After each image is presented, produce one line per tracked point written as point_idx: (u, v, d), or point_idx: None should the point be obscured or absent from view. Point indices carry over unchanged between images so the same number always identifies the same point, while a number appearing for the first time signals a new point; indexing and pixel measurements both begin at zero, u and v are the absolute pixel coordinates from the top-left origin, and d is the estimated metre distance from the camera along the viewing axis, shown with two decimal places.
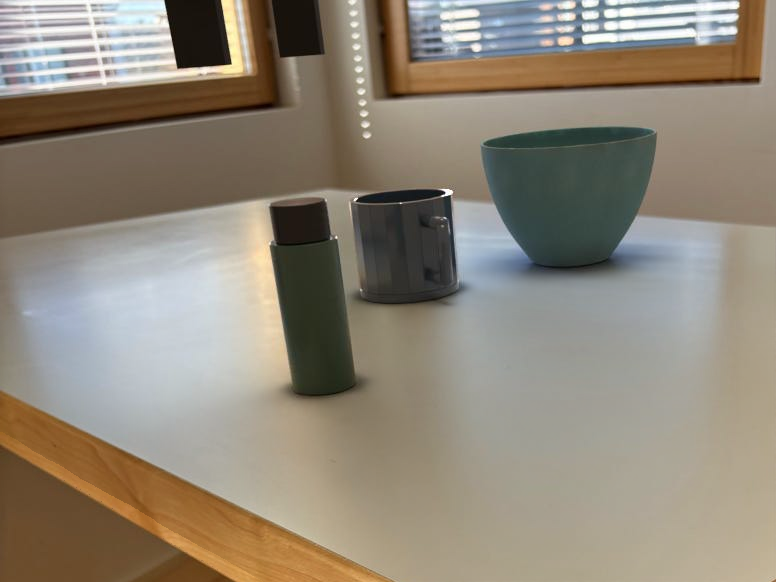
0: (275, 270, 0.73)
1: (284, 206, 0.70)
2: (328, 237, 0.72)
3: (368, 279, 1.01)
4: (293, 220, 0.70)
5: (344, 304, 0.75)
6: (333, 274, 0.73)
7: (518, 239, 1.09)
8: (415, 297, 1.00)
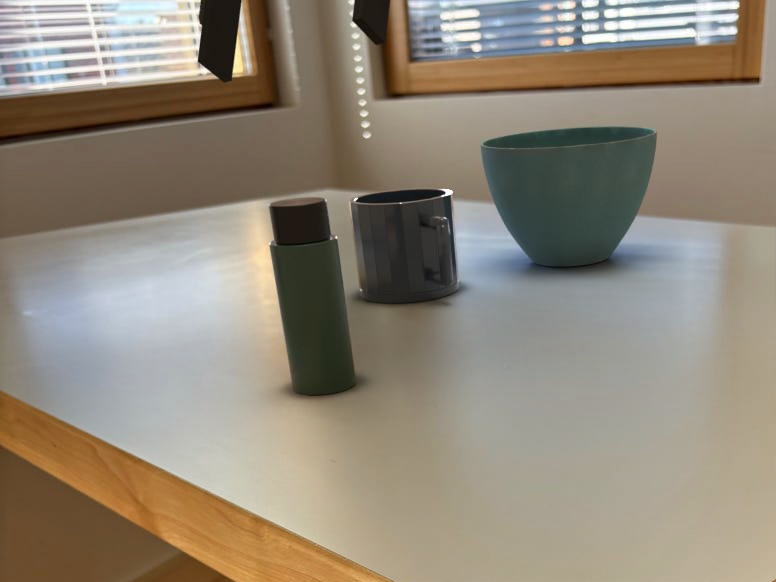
0: (275, 270, 0.73)
1: (284, 206, 0.70)
2: (328, 237, 0.72)
3: (368, 279, 1.01)
4: (293, 220, 0.70)
5: (344, 304, 0.75)
6: (333, 274, 0.73)
7: (518, 239, 1.09)
8: (415, 297, 1.00)
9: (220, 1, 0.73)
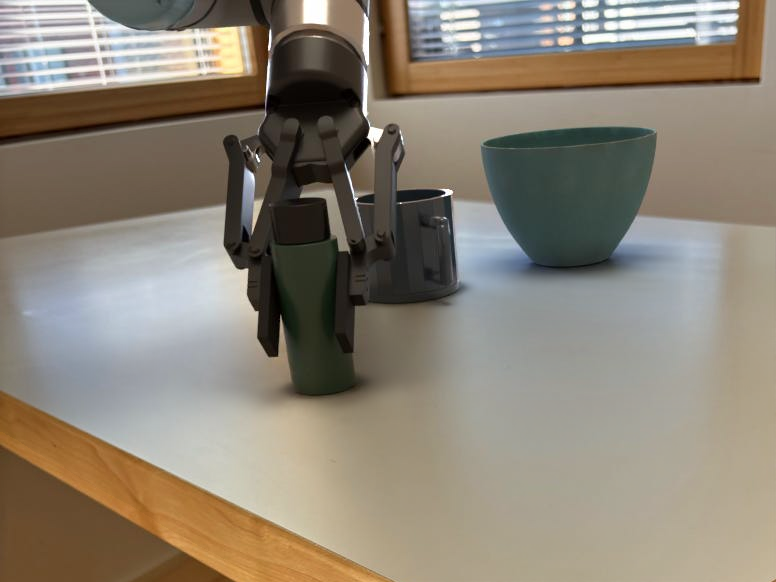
0: (275, 270, 0.73)
1: (284, 206, 0.70)
2: (328, 237, 0.72)
3: None
4: (293, 220, 0.70)
5: None
6: (333, 274, 0.73)
7: (518, 239, 1.09)
8: (415, 297, 1.00)
9: (273, 284, 0.74)
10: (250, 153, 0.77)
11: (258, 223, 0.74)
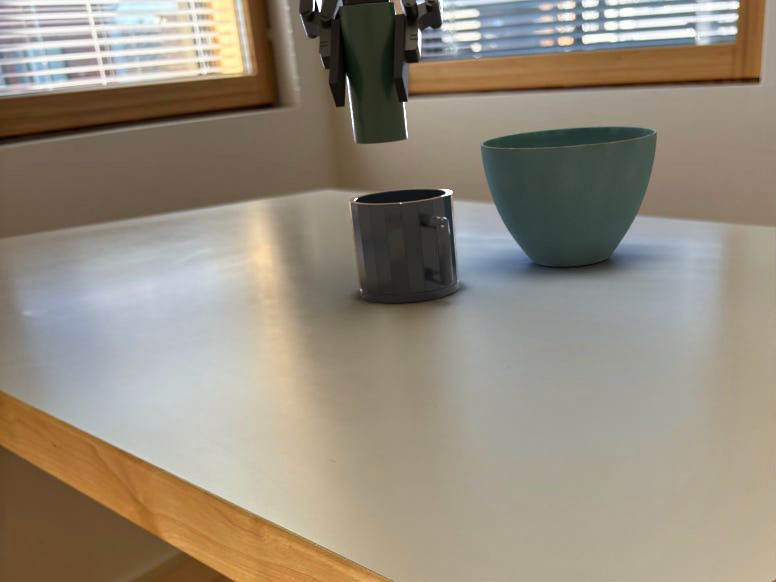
0: (343, 29, 0.87)
1: None
2: (388, 0, 0.87)
3: (368, 279, 1.01)
4: None
5: None
6: (392, 33, 0.87)
7: (518, 239, 1.09)
8: (415, 297, 1.00)
9: (341, 43, 0.88)
10: None
11: None
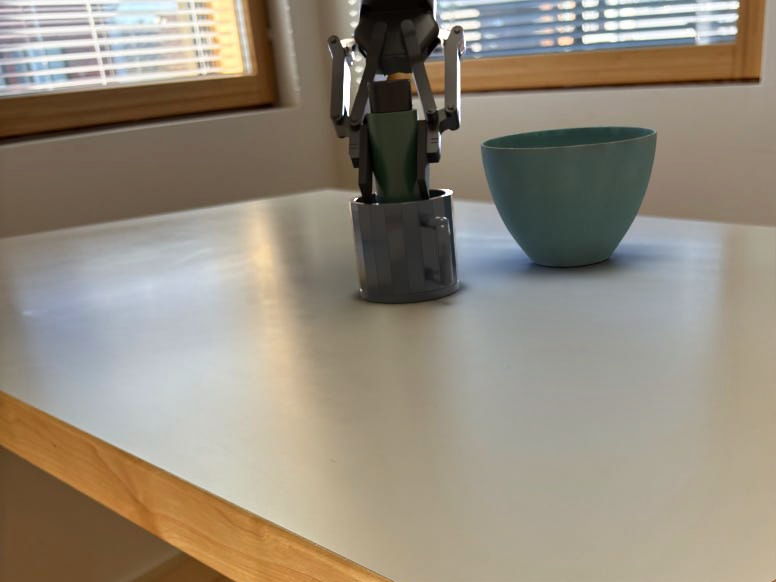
0: (371, 134, 0.96)
1: (380, 82, 0.93)
2: (411, 108, 0.96)
3: (368, 279, 1.01)
4: (387, 93, 0.94)
5: None
6: (415, 137, 0.96)
7: (518, 239, 1.09)
8: (415, 297, 1.00)
9: (368, 145, 0.97)
10: (348, 49, 1.00)
11: (356, 100, 0.98)
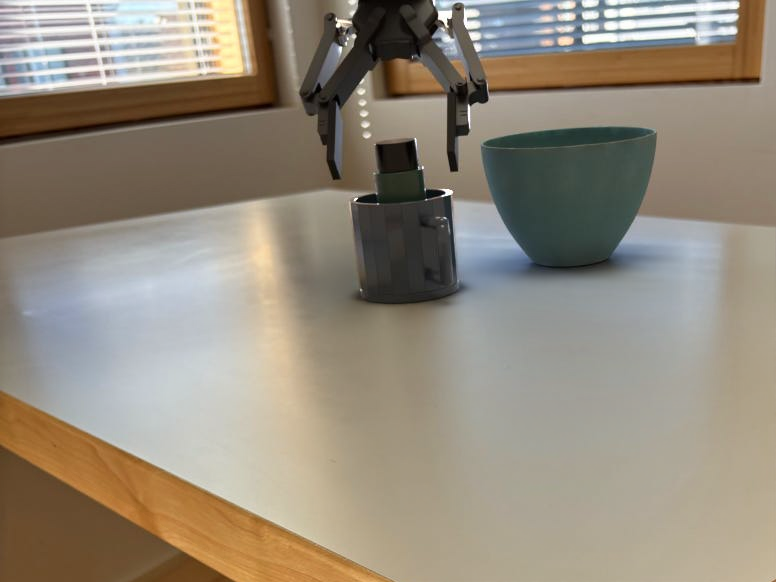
0: (378, 192, 0.99)
1: (387, 144, 0.96)
2: (417, 167, 0.98)
3: (368, 279, 1.01)
4: (393, 154, 0.96)
5: None
6: (421, 194, 0.99)
7: (518, 239, 1.09)
8: (415, 297, 1.00)
9: (337, 122, 0.97)
10: (342, 30, 0.99)
11: (332, 78, 0.98)
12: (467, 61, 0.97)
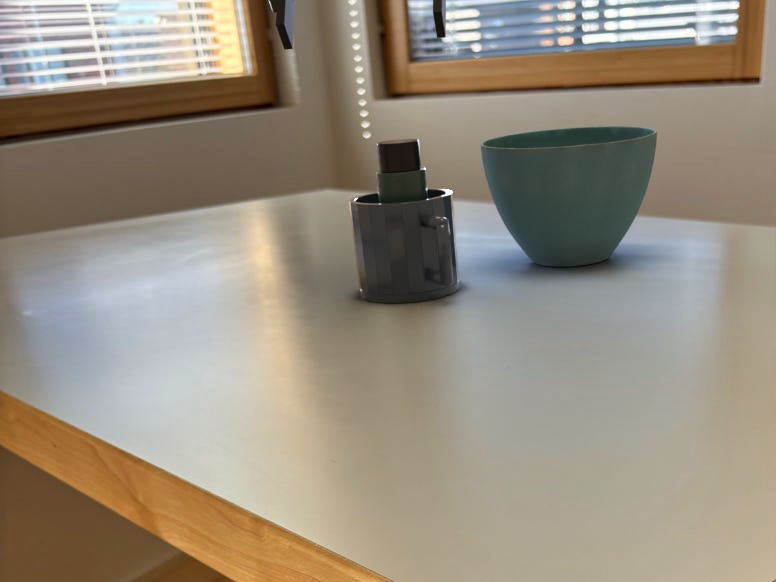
0: (380, 192, 0.99)
1: (389, 143, 0.96)
2: (419, 167, 0.98)
3: (368, 279, 1.01)
4: (396, 154, 0.96)
5: None
6: (423, 195, 0.99)
7: (518, 239, 1.09)
8: (415, 297, 1.00)
9: None
10: None
11: None
12: None
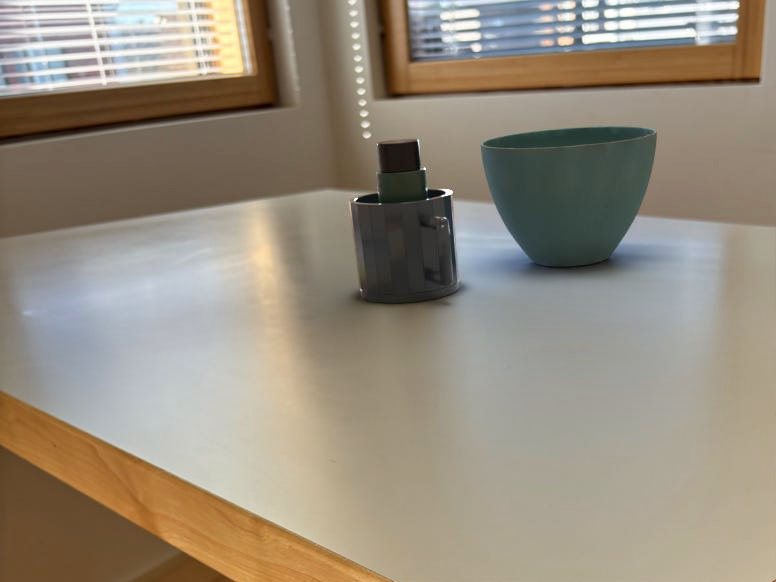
0: (380, 192, 0.99)
1: (389, 143, 0.96)
2: (419, 167, 0.98)
3: (368, 279, 1.01)
4: (396, 154, 0.96)
5: None
6: (423, 195, 0.99)
7: (518, 239, 1.09)
8: (415, 297, 1.00)
9: None
10: None
11: None
12: None
